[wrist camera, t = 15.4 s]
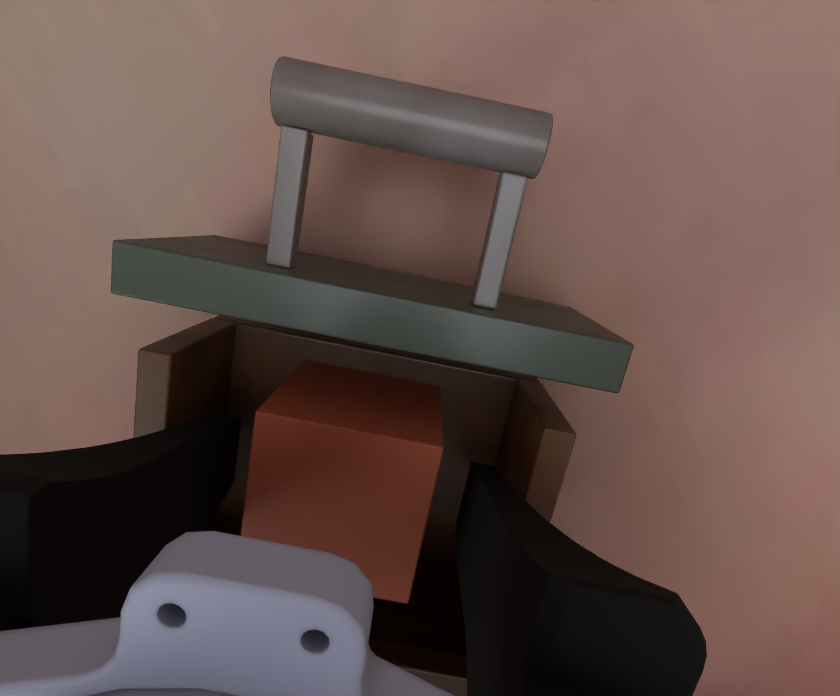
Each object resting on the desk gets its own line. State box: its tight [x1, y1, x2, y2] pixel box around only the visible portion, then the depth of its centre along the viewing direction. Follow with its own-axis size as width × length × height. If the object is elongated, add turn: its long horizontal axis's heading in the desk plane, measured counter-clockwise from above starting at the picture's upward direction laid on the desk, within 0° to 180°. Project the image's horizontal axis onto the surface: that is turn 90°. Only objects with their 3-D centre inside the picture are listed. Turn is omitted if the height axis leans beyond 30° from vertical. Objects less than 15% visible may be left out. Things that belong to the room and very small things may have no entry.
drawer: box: [111, 56, 634, 656], centre depth 14 cm, size 17×12×5 cm
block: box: [240, 360, 444, 604], centre depth 14 cm, size 4×4×4 cm
